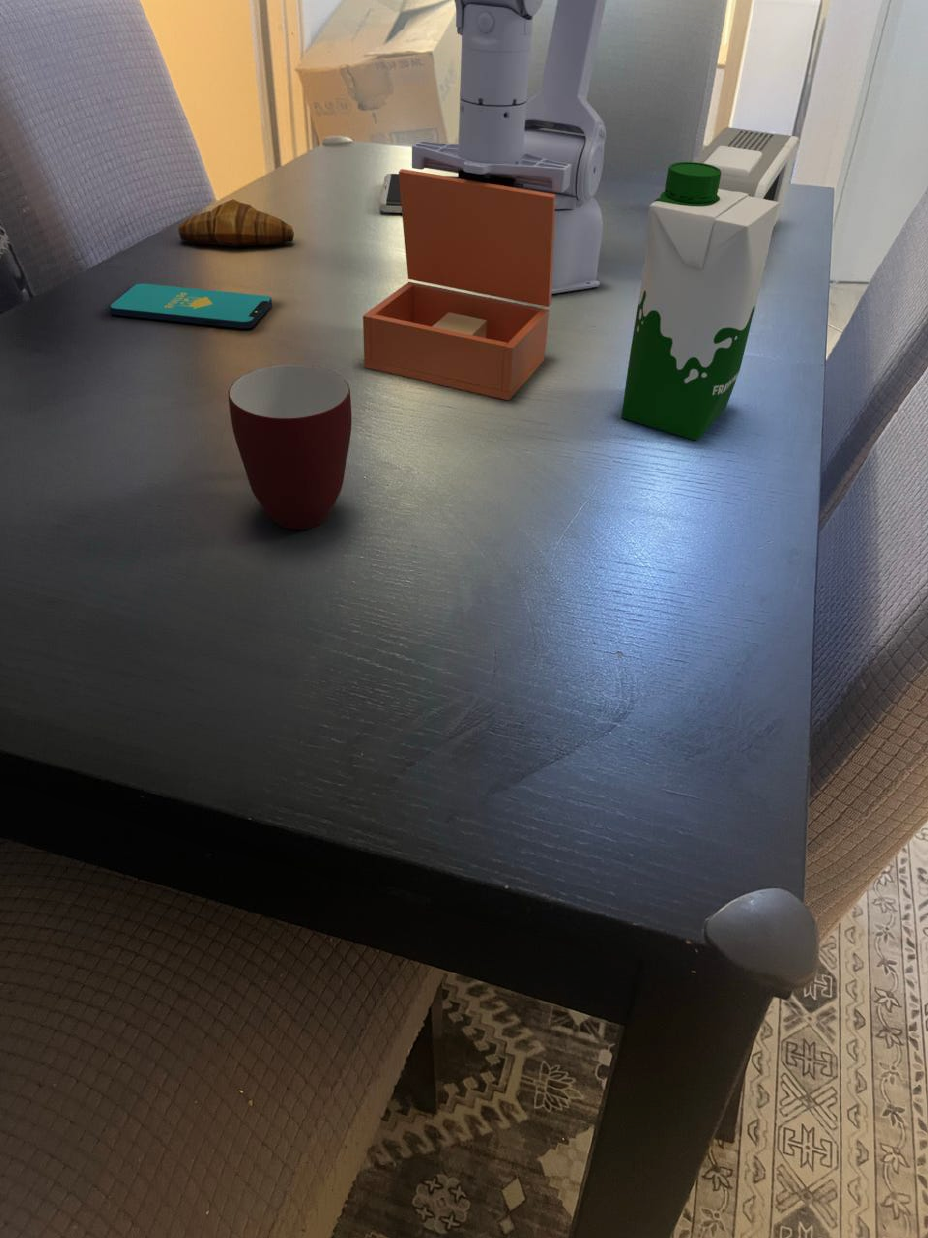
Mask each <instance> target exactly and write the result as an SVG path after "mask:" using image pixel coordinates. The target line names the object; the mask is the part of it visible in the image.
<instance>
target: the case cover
mask: <svg viewBox="0 0 928 1238" xmlns="http://www.w3.org/2000/svg"><path fill="white" fill-rule="evenodd" d="M398 174H399V181H400V192H401V204H402V213H401V214H402V215H401V217H402V226H403V228H402V229H403V237H404V251H405V263H406V274H407V275H406V276H407V279H408V280H410V281H415V282H416V281H418V282H420V283H425V284H426V283H427V284H431V285H436V286H440V287H441V286H442V287H446V288H451V289H455V290H456V289H457V290H461V291H466V292H471V293H475V294H476V293H477V294H481V295H486V296H491V297H496V298H502V299H506V300H511V301H517V302H521V303H526V304H531V305H536V306H539V307H540V306H542V307H547V308H550V306H551V305H552V294H551V292H552V267H553V242H554V218H555V194H550V193H544V192H538V191H532V190H526V189H519V188H513V187H507V186H501V185H495V184H489V183H483V182H477V181H471V180H465V179H459V178H453V177H447V176H448V175H440V174H434V173H428V172H422V171H417V170H416V171H415V170H410V169H403V168H401V169H400V170H399V171H398Z"/></svg>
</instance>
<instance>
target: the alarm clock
mask: <svg viewBox="0 0 928 1238" xmlns="http://www.w3.org/2000/svg"><path fill="white" fill-rule="evenodd" d="M799 141H800V139H799V136H794V135H789V134H788V135H787V134H781V133H775V132H766V131H759V130H751V129H744V128H739V127H738V128H736V127H731V126H730V127H729V126H726V127H724V128H723V130H721V132H720V133H718V135H717V136H715V137H714V138H713V140H712V141H711V142H710V143H709V144H708V145H707V146H706V147H705V148H704V149H703V150H702V151H701V152H700V153H699V154H698V155H697V156H696V157H695V158H694V160H692V162H696V163H703V164H708V165H712V166H715V167H717V168H719V169H720V170H721V179H720V184H719V189H722V190H727V191H732V192H735V191H737V192H742V193H747V194H749V196H750V197H755V198H760V199H765V200H770V201H775V202H779V205H778V210H777V214H776V218H775V223H774V227H775V225H776V224H777V222H778V220H779V219H780V216H781V215H782V211H783V207H784V205H785V200H786V196H787V192H788V189H789V186H790V185H789V184H790V180H791V177H792V172H793V169H794V165H795V161H796V160H795V159H796V156H797V152H798V148H799Z"/></svg>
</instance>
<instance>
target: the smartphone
mask: <svg viewBox="0 0 928 1238" xmlns="http://www.w3.org/2000/svg"><path fill="white" fill-rule="evenodd" d="M272 306H273V300H272V297H271V296H269V295H261V294H254V293H253V294H251V293H242V292H231V291H222V290H213V289H203V288H192V287H182V286H174V285H173V286H172V285H163V284H155V283H154V284H153V283H145V282H144V283H142V282H141V283H137V284H134V285H133V286H132V287H131V288H129V289H128V290H127V291H126V292H125V293H123V294H122V295H121V296H120V297H119V298H117V299H116V300H115V301H114V302H112V303H111V304H110V305H109V310H110V314H111V315H115V316H123V317H132V318H133V317H134V318H142V319H151V320H161V321H169V322H180V323H188V324H189V323H190V324H199V325H208V326H217V327H228V328H235V329H236V328H237V329H251V328H253V327H255V325H256V324H257V323H258V322H259V320H260V319H262V317H263V316H264V315H265V314H266V312H268V310H269V309H270V308H271V307H272Z"/></svg>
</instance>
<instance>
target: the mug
mask: <svg viewBox="0 0 928 1238" xmlns="http://www.w3.org/2000/svg"><path fill="white" fill-rule="evenodd" d="M351 399H352V398H351V389H350V385H349V384H348V382H347V381H346V380H345V378H344V377H342V376H341V375H340V374H338V373H336V372H334V371H332V370H329V369H326V368H324V367H321V366H315V365H308V364H296V363H295V364H292V363H291V364H277V365H270V366H265V367H260V368H257V369H255V370H252V371H249V372H247V373H245V374H243V375H241V376H239V377H238V378H237V379H236V380H235V381H234V382H232V384H231V385H230V386H229V389H228V405H229V414H230V423H231V428H232V432H233V433H232V434H233V436H234V440H235V443H236V446H237V449H238V453H239V455H240V458H241V462H242V465H243V468H244V471H245V475H246V477H247V480H248V484H249V486H250V488H251V491H252V493H253V496H254V497H255V498H256V500H257V502H258V503H259V504H260V506H261V508H263V510H264V511H265V512H266V513H267V515H268V516H269V517H270V518H271V520H272V521H273V522H274V523H275V524H276V525H278V526H279V527H281V528H282V529H283V528H284V529H287V530H293V531H304V530H309V529H313V528H316V527H317V526H320V525H322V524H323V523H324V522H325V521H326V520H327V518H328V517H329V514H330V513H331V511H332V509H333V508H334V506H335V504H336V503H337V500H338V498H339V496H340V494H341V492H342V489H343V486H344V482H345V481H344V480H345V474H346V467H347V461H348V460H347V459H348V454H349V446H350V440H351V433H352V402H351V401H352V400H351Z"/></svg>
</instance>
